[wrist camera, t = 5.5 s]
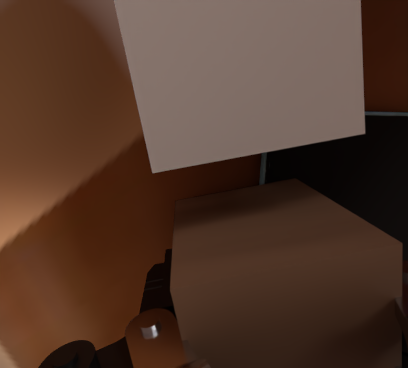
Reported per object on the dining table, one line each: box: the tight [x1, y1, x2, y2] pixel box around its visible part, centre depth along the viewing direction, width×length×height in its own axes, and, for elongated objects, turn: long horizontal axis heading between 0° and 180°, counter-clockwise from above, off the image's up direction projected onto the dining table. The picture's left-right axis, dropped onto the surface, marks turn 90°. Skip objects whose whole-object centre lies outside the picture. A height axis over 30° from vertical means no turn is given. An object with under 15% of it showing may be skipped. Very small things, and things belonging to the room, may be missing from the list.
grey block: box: [114, 0, 365, 173], centre depth 9 cm, size 5×5×6 cm
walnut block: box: [170, 178, 402, 368], centre depth 10 cm, size 5×5×6 cm
